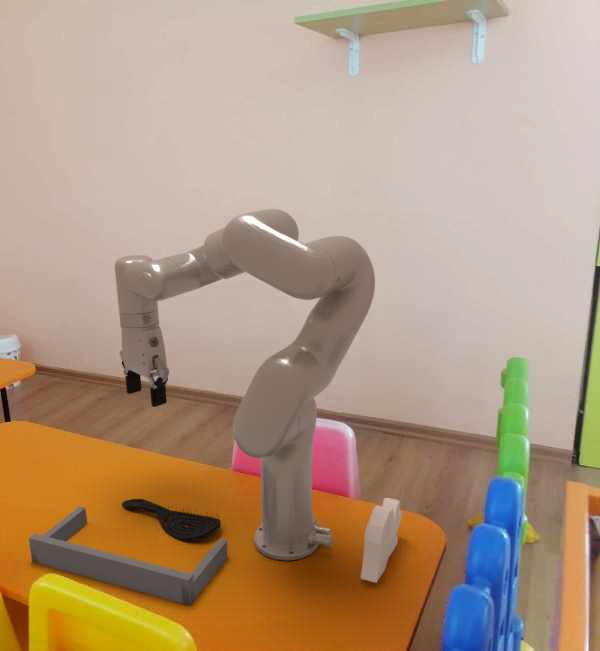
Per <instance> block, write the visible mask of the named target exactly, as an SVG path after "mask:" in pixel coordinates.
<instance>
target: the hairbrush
mask: <svg viewBox="0 0 600 651" xmlns="http://www.w3.org/2000/svg"><path fill="white" fill-rule="evenodd" d="M121 506H122V508H123V509H124V510H131V511H145V512H147V513H151V514H155V515H156V517H157V518H158V520H159V521H160V522H159V523H160V525H161V527H162V530H164V532H165V533H166V534H167V535H169V536H170V537H172V538H173V539H175V540H177V541H181V542H185V543H190V542H193V541H197V540H201V539H204V538H206V537H208V536H210V535H211V534H213V533H214V532H216V531H217V530H218V529H220V528H221V525H222V523H221V519H220V516H219V515H218V514H217V513H214V514H213V516H209V515H210V513H211V512H209V513H208V511H206V514H205V515H202V513H198V510H197V509H196V510H195V509H193V510H194V511H195V512H196V513H195V512H194V513H192V511H188V510H189V508H187V509H186V510H187V512H185V509H182V510H179V511H177V510H176V509H177V507H175V510H171V509H170V506H168V507H167V508H166V507H163V506H162V505H159V504H157V503H154V502H151V501H149V500H146V499H143V498H131V499H127V500H126V499H125V500H124V501H122V502H121ZM171 508H173V506H172V507H171ZM208 514H209V515H208ZM214 516H217V517H214Z"/></svg>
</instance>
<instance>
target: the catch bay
mask: <svg viewBox="0 0 600 651" xmlns="http://www.w3.org/2000/svg"><path fill="white" fill-rule="evenodd" d="M85 524H86V525H87V524H88V518H87V508H86V507H83V506H78V507H77V508H76V509H74V510H73V511H72V512H70V513H69V514H67V515H66V516H65V517H64V518H63V519H61V520H60V521H59V522H58V523H56V524H55V525H53V526H52V527H51V528H50V529H49V530H48V531H46V532H45V533H43V534H40V533H39V534H38V533H33V534H32V535H31V536H29V537H28V543H29V549H30V557H31V562H32V563H34V564H35V563H36V564H39V565H42V566H46V567H49V568H53V569H57V570H60V571H64V572H69V573H71V574H75V575H79V576H82V577H86V578H90V579H92V580H96V581H100V582H104V583H107V584H111V585H113V586H118V587H122V588H125V589H129V590H131V591H136V592H139V593H143V594H147V595H150V596H154V597H157V598H161V599H165V600H168V601H172V602H175V603H180V604H182V605H186V606H191V605H192V604H193V603H194V601H195V600H196V599H197V598H198V596H200V594H201V592H202V591H203V590H204V588H205V587H206V586H207V585H208V583H209V582H210V581H211V579H212V578H213V577H215V576H214V575H215V574H216V573H217V572H218V571H219V569H220V568H221V567H222V565H223V564H224V562H225V561H226V560H227V559H228V541H227V540H225V539H221V538H219V539H218V540H217V541H216V543H215V544H214V545H213V546H212V547H211V549H210V550H209V551H208V553H206V555H205V556H204V558H202V560H201V561H200V562H199V563H198V565H197V566H196V567H195V568H194V569H193V571H192V572H191V573H189V572H185V571H181V570H177V569H173V568H171V567H165V566H162V565H159V564H158V565H157V564H155V563H150V562H147V561H143V560H138V559H135V558H131V557H127V556H124V555H123V556H122V555H119V554H117V553H116V554H115V553H112V552H107V551H104V550H100V549H96V548H92V547H89V546H85V545H81V544H76V543H72V542H69V541H68V540H69V539H70V538H72V536H74V535H75V534H76V533H77V532H79V531H80V530H81V529H82V528H83V527H84V526H86V525H85ZM79 529H80V530H79Z"/></svg>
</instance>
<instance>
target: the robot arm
mask: <svg viewBox="0 0 600 651" xmlns="http://www.w3.org/2000/svg"><path fill="white" fill-rule="evenodd" d="M299 232H300V231H299V227H298V224H297V222H296V220H295V219H294V218H293V216H292V215H290V214H289V213H288V212H286V211H284V210H281V209H277V208H268V209H262V210H258V211H251V212H246V213H241V214H239V215H237V216H235V217H233V218H232V219H231V220H230V221H229V222H228V223H227V224H226V225H225V227H222V228H220V229H218V230H216V231H213V232H212V233H209V234H208V235H207V236H206V238H205V240H204V243H203V245H201V246H199V247H196V248H194V249H192V250H191V249H190V250H188V251H186V252H184V253H179V254H174V255H172V256H171V255H170V256H166V257H163V258H159V259H154V260H153V258H151V257H150V256H147V255H140V254H139V255H127V256H126V255H125V256H122V257H120V258H118V259H116V261H115V262H114V274H115V284H116V285H115V286H116V294H117V304H118V314H119V315H118V316H119V326H120V329H121V350H120V351H119V356H120V359H121V366H122V367H123V374H124V375H125V376H124V378H125V386H126V393H127V394H128V395H132V394H135V393H138V392H141V391H142V378H141V376H142V377H144V378H147V379H148V381H149V383H150V386H151V387H150V388H149V392H150V402H151V403H150V404H151V407H152V408H157V407H159V406H162V405H164V404H166V403H167V401H168V400H167V389H166V388H167V385H168V380H169V374H170V369H169V368H168V364H167V363H168V362H167V356H166V354H167V353H166V348H165V347H166V346H165V342H164V337H163V332H162V330H161V326H160V317H159V306H158V302H159V301H160V302H161V301H164V300H167V299H170V298H174V297H177V296H179V295H182V294H186V293H190V292H192V291H196V290H198V289H200V288H203V287H205V286H208V285H210V284H213V283H216V282H219V281H221V280H223V279H224V280H229V279H231V278H234V277H236V276H238V275H242V274H244V273H246V274H248V275H250V276H252V277H254V278H256V279H258V280H260V281H262V282H263V283H264V284H267V285H269V286H271V287H272V288H274V289H276V290H278V291H280V292H282V293H284V294H285V295H288V296H290V297H292V298H295V299H299V300H303V301H304V300H305V301H311V300H316V299H318V300H317V302H316V303H315V305H314V306H313V307H312V309H311V311H310V312H309V313H308V315H307V318H306V320H305V322H304V325H303V326H302V328H301V329H300V331H299V333H298V335H297V337H296V338H295V339H294V340H293V342H291V343H290V344H289V345H287V346H286V347H284V348H282V349H281V350H279V351H277V352H276V353H274V354H273V355H271V356H269V357H268V358H267V359H266V360H264V362H263V363H262V364H261V365H260V367H258V369H257V370H256V372H255V374H254V376H253V378H252V380H251V382H250V384H249V386H248V388H247V390H246V392H245V394H244V396H243V397H242V400H241V402H240V404H239V406H238V408H237V410H236V413H235V415H234V419H233V422H232V424H233V425H232V433H233V437H234V440H235V443H236V445H237V447H238V449H240V451H241V452H243V453H244V454H245V455H246V456H248V457H252V458H256V459H260V488H261V489H260V490H261V491H260V492H261V495H260V496H261V524H260V525H259V526H258V528H257V529H256V530H255V533H254V545H255V547H256V549H257V550H258V551H259V553H261V554H263V555H264V556H265V557H268V558H271V559H274V560H279V561H280V560H281V561H293V560H295V561H296V560H298V559H302V558H307V557H308V556H309V555H311V554H313V553H314V552H316V550H317V549H318V548H319V546H320V545H321V546H326V547H332V546H333V542H334V536H333V535H331V528H330V527H323V526H320V525H319V524H318V517H317V516H314V515H313V447H314V437H315V433H316V432H315V430H316V425H317V416H318V411H317V410H318V409H317V404H316V400H315V397H317V396H318V395H319V394H321V393H323V391H324V390H326V388H327V387H328V386H329V385H330V384H331V382H332V381H333V379H334V377H335V375H336V373H337V371H338V369H339V367H340V365H341V364H342V362H343V360H344V358H345V356H346V355H347V353H348V351H349V349H350V347H351V346H352V343H353V341H354V339H355V338H356V335H357V334H358V333H359V331H360V329H361V327H362V325H363V323H364V322H365V320H366V317H367V315H368V313H369V311H370V308H371V306H372V303H373V299H374V295H375V289H376V277H375V271H374V266H373V263H372V260H371V258H370V256H369V255H368V252H367V251H366V250H365V248H364V247H363V246H362V245H361V244H360V243H359V242H358V241H357V240H355V239H353V238H351V237H348V236H344V235H332V236H328V237H327V236H326V237H323V238H319V239H316V240H312V241H310V242H305V243H304V242H302V241H299V235H300V233H299ZM154 377H157V379H156V380H155V378H154Z"/></svg>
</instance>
